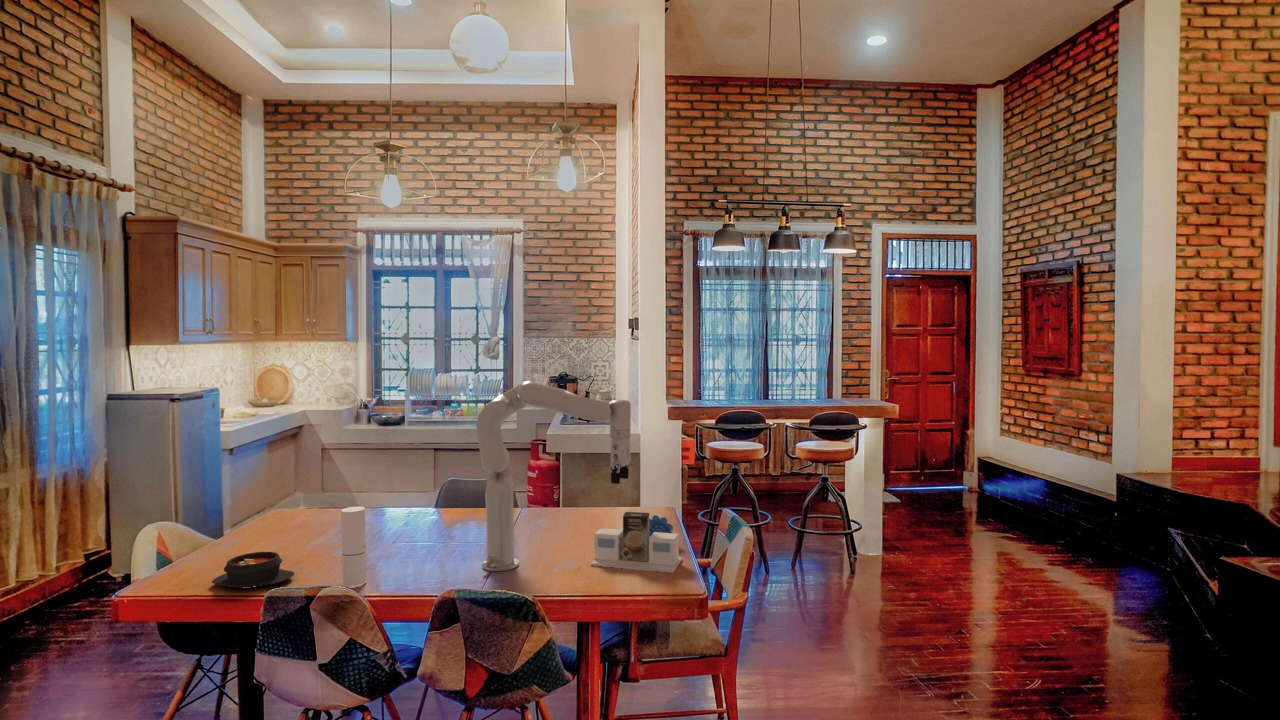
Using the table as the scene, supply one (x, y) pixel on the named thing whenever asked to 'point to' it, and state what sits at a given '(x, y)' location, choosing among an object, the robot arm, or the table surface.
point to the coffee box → (635, 536)
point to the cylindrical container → (353, 546)
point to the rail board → (660, 559)
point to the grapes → (659, 525)
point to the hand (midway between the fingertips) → (619, 480)
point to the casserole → (253, 570)
